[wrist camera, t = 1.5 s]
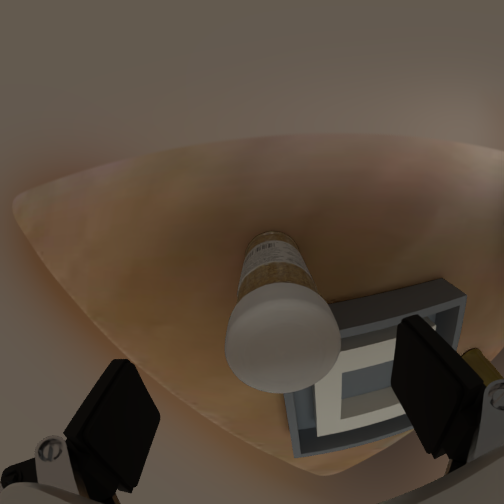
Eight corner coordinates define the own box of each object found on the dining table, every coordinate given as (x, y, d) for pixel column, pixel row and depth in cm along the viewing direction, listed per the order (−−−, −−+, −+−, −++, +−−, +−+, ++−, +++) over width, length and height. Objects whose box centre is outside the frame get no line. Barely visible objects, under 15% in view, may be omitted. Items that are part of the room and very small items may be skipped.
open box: (442, 277, 22) (467, 294, 18) (420, 398, 27) (433, 420, 22) (272, 313, 24) (274, 341, 20) (292, 430, 28) (294, 458, 24)
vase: (462, 385, 26) (506, 448, 13) (440, 381, 26) (488, 454, 12) (486, 351, 25) (539, 409, 11) (466, 344, 25) (527, 411, 11)
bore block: (421, 311, 23) (436, 325, 20) (407, 393, 26) (416, 409, 23) (307, 337, 24) (312, 357, 21) (314, 417, 27) (317, 436, 24)
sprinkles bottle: (254, 288, 23) (244, 406, 10) (237, 238, 22) (204, 320, 9) (306, 274, 23) (349, 381, 10) (292, 222, 22) (333, 285, 9)
